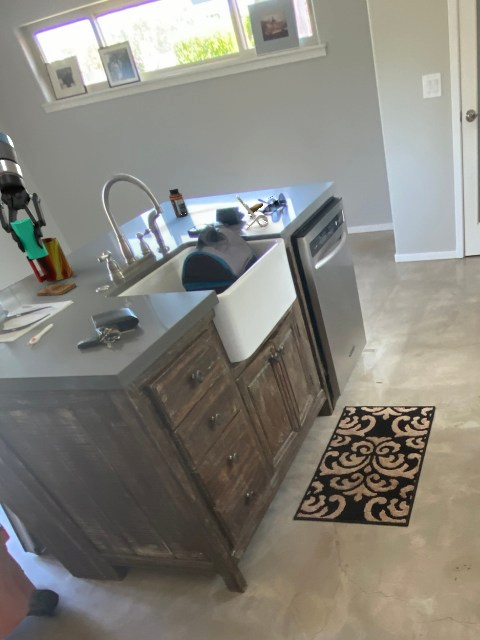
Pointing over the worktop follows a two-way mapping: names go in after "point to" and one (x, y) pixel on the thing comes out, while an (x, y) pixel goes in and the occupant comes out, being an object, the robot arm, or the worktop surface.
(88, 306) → the worktop surface
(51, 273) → the mug
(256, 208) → the tap handle
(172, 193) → the supplement bottle
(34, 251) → the candle
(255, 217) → the plastic part
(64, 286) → the cork mat
